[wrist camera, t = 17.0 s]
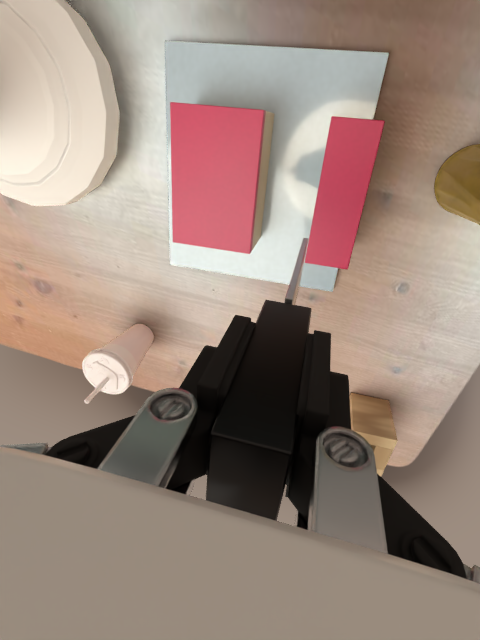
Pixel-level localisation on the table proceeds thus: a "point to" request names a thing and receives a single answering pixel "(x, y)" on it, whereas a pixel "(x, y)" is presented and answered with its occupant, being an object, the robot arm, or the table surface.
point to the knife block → (374, 426)
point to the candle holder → (53, 104)
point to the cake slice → (342, 189)
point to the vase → (460, 184)
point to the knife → (261, 410)
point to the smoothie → (117, 361)
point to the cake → (219, 174)
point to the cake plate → (274, 138)
